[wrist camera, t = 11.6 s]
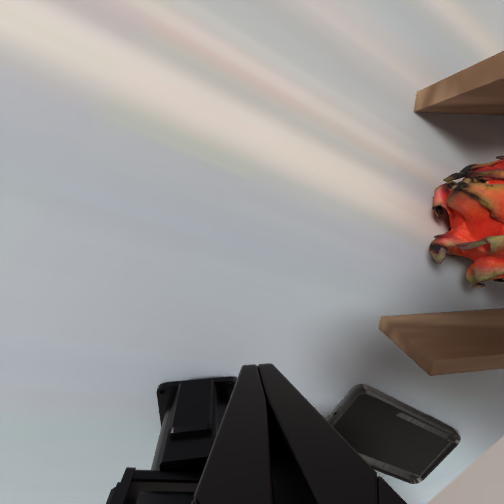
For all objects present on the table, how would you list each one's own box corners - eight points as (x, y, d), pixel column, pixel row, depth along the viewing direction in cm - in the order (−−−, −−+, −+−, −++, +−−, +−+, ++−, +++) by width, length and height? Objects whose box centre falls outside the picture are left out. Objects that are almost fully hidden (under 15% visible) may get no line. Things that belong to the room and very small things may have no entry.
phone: (417, 486, 27) (313, 446, 23) (409, 474, 28) (309, 434, 24) (465, 437, 26) (363, 386, 22) (455, 426, 27) (357, 377, 23)
